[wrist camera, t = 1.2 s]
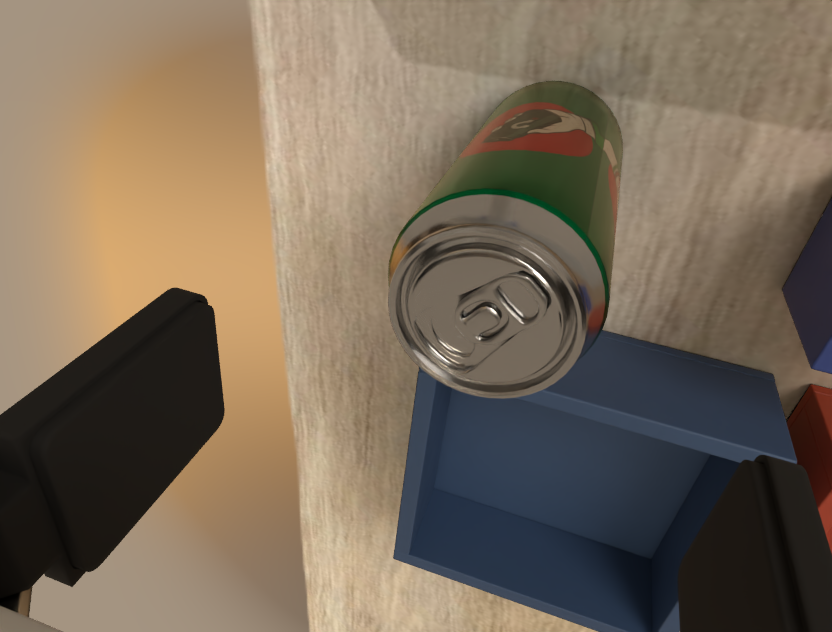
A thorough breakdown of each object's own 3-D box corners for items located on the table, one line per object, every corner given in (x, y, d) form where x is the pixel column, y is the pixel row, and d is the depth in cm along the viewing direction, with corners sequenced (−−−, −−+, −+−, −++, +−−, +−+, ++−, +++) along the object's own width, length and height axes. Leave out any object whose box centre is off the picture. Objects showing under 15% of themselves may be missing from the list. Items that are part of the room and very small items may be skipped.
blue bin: (453, 291, 27) (420, 355, 23) (773, 373, 24) (799, 462, 20) (421, 486, 35) (392, 559, 31) (661, 564, 32) (663, 655, 28)
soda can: (458, 136, 23) (327, 290, 14) (567, 44, 20) (499, 156, 11) (537, 235, 24) (469, 440, 15) (651, 161, 21) (658, 356, 12)
